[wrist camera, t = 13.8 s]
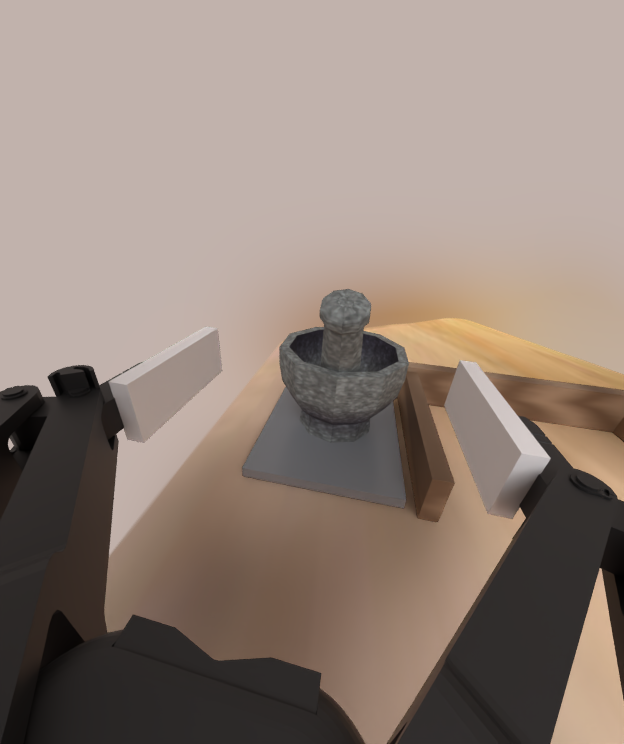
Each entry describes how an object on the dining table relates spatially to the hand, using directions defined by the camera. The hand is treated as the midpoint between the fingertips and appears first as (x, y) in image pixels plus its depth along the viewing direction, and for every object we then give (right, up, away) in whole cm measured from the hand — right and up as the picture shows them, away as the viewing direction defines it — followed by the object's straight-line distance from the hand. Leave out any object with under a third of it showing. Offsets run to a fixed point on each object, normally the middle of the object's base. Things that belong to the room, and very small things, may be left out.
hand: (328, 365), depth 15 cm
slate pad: (+1, -5, +9) cm, 11 cm away
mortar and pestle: (+1, -5, +9) cm, 10 cm away
